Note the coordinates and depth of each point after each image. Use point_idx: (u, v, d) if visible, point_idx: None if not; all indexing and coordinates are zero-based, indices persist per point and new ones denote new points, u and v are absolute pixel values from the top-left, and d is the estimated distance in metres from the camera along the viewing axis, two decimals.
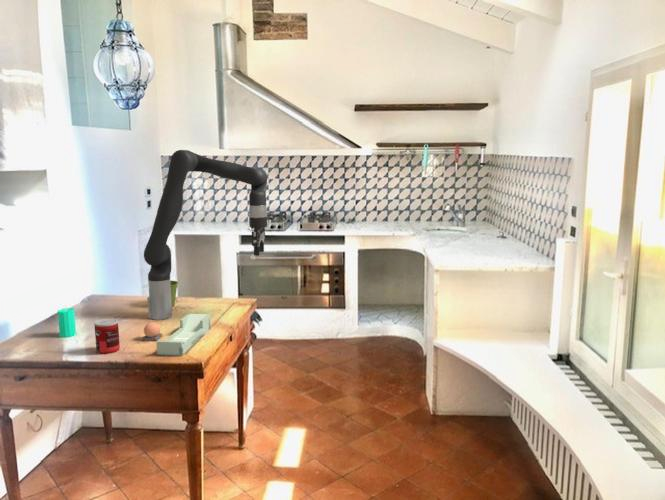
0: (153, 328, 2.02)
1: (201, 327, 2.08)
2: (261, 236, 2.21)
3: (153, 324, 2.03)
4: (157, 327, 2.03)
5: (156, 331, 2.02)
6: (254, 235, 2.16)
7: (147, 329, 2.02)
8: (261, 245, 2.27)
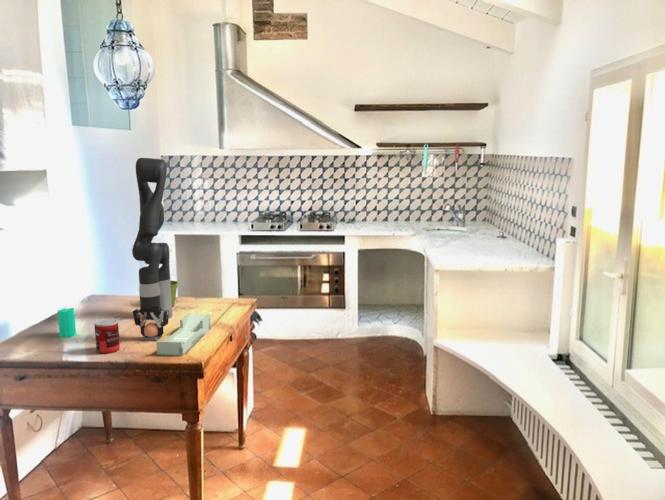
0: (153, 328, 2.02)
1: (201, 327, 2.08)
2: None
3: (153, 324, 2.03)
4: (157, 327, 2.03)
5: (156, 331, 2.02)
6: (167, 314, 2.03)
7: (147, 329, 2.02)
8: None
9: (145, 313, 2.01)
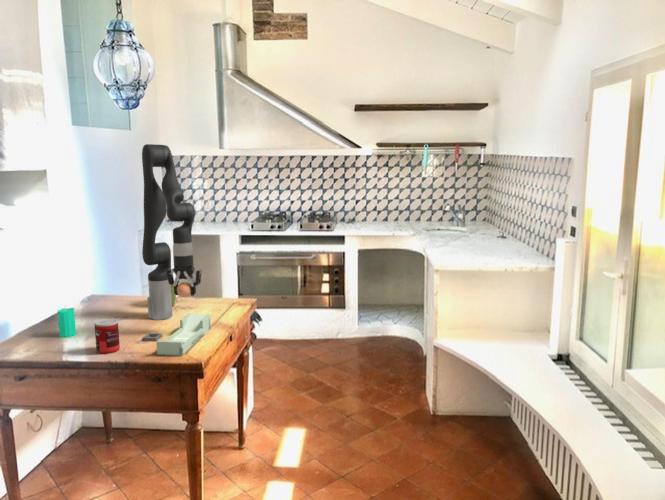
0: (186, 287, 2.07)
1: (201, 327, 2.08)
2: None
3: (186, 283, 2.08)
4: (190, 286, 2.08)
5: (188, 290, 2.07)
6: (200, 274, 2.07)
7: (180, 288, 2.06)
8: None
9: (178, 272, 2.06)
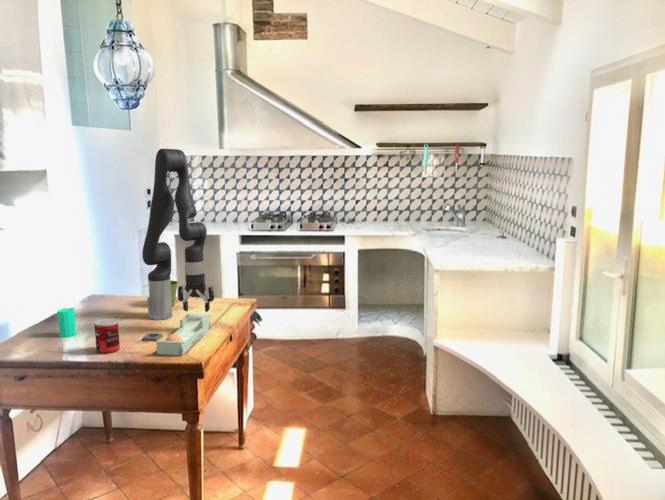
0: None
1: (201, 327, 2.08)
2: None
3: None
4: None
5: None
6: (212, 290, 2.11)
7: None
8: (187, 303, 2.14)
9: (190, 290, 2.10)
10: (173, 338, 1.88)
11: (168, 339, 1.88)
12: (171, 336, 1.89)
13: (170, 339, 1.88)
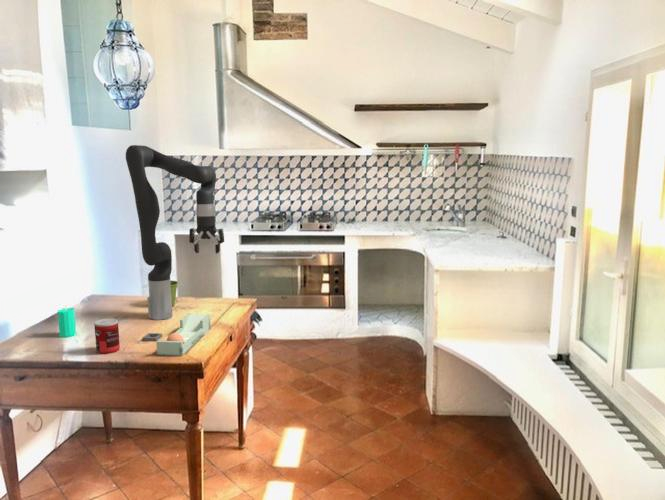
0: None
1: (201, 327, 2.08)
2: None
3: None
4: None
5: None
6: (222, 232, 2.19)
7: None
8: (198, 246, 2.21)
9: (201, 232, 2.18)
10: (175, 335, 1.90)
11: (170, 335, 1.90)
12: (173, 333, 1.91)
13: (172, 335, 1.90)
